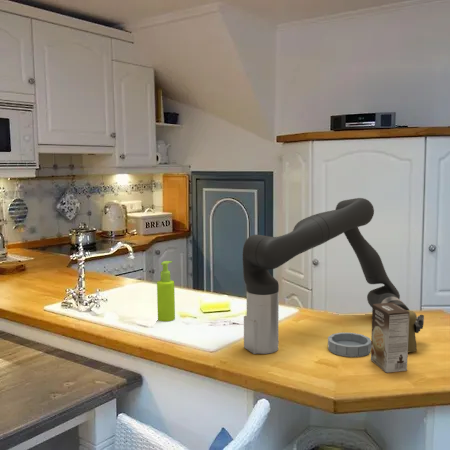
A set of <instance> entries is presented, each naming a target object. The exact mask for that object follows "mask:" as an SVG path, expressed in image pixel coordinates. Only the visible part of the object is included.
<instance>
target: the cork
mask: <svg viewBox="0 0 450 450" xmlns="http://www.w3.org/2000/svg"><path fill="white" fill-rule="evenodd" d="M407 311H409V312H410V315H409V336H408V353H413V352H416V351H417V340H416V339H417V338H416V333H415V329H414V323H415V322H416V319H417V317H418V316H417V314H416V312H414V311H413V310H410V309H409V310H407Z"/></svg>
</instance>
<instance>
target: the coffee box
mask: <svg viewBox="0 0 450 450" xmlns="http://www.w3.org/2000/svg"><path fill="white" fill-rule="evenodd" d="M372 305H373V307H371V309H372V310H371V313H372V314H371V338H370V339H371V352H370V361H371V362H373V363H374V364H375V365H376V366H378V367H379V368H380V370H382V371H383V372H385V373H396V372H406V371H408V357H409V355H408V353H409V352H408V336H409V315H410V312H409V311H407V310H405V309H404V308H402V307H400V306H398V305H397V304H395V303H393V302H391V303H380V304H372Z"/></svg>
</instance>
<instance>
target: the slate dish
mask: <svg viewBox="0 0 450 450" xmlns="http://www.w3.org/2000/svg"><path fill="white" fill-rule="evenodd" d="M327 346H328V347H327V348H328V351H329V352H330V353H332V354H333V355H337V356H340V357H346V358H361V357H365V356H369V354H370V355H371V338H370V337H369V336H366V335H364V334H361V333H356V332H343V331H342V332H336V333H332V334H330V335H329V336H327Z"/></svg>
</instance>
